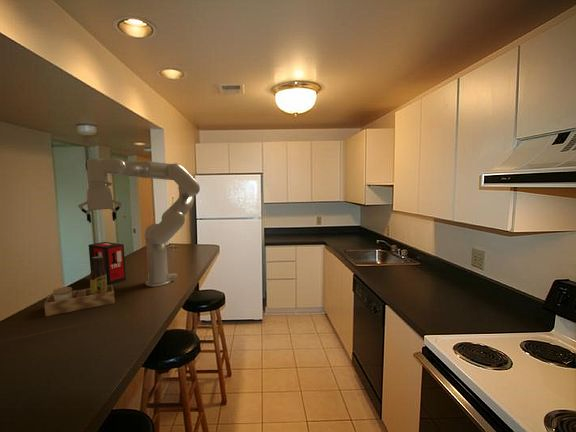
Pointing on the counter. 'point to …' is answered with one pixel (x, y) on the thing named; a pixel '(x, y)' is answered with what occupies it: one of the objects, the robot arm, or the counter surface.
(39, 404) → the counter surface
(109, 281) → the cleaning product box
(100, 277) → the sauce bottle
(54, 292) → the jar
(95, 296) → the caddy
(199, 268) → the counter surface
